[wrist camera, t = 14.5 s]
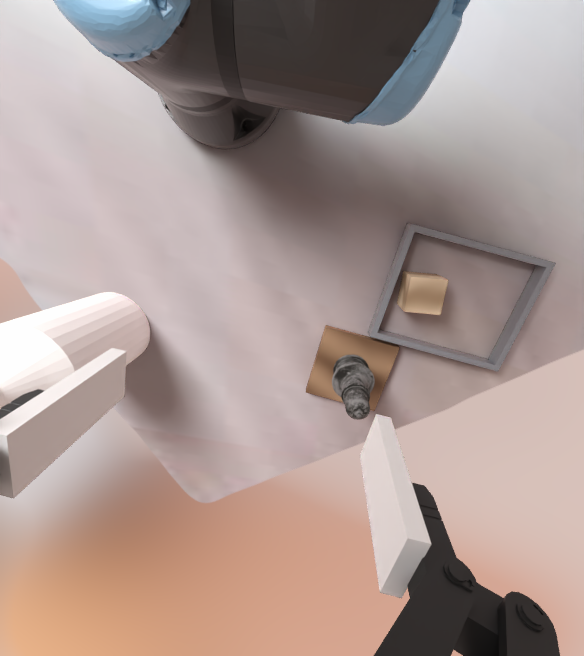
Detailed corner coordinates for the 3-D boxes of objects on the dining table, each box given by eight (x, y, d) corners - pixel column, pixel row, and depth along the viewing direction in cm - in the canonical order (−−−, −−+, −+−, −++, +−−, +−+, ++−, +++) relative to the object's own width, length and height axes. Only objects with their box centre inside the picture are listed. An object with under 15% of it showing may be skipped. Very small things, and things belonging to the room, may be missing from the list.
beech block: (402, 271, 44) (411, 276, 40) (436, 274, 44) (448, 279, 39) (396, 302, 45) (404, 311, 41) (429, 306, 45) (440, 315, 41)
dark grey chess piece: (368, 390, 49) (381, 441, 37) (329, 386, 49) (331, 436, 38) (373, 354, 47) (389, 397, 35) (333, 350, 47) (336, 392, 36)
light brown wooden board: (325, 325, 47) (325, 327, 46) (397, 344, 47) (399, 348, 46) (306, 388, 51) (305, 392, 50) (373, 406, 51) (374, 411, 50)
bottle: (66, 326, 51) (-152, 417, 28) (104, 274, 48) (-107, 327, 24) (125, 375, 53) (-32, 499, 30) (166, 328, 50) (26, 425, 26)
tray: (407, 223, 42) (411, 223, 40) (545, 260, 42) (555, 262, 40) (367, 331, 47) (369, 336, 45) (490, 365, 47) (497, 371, 45)
